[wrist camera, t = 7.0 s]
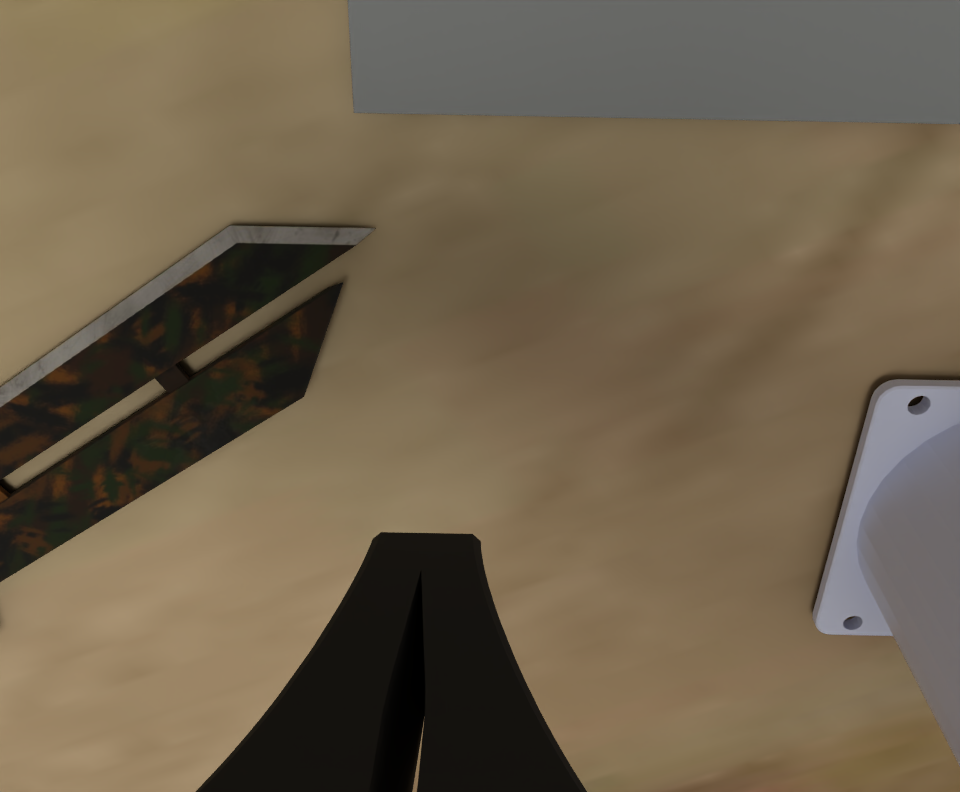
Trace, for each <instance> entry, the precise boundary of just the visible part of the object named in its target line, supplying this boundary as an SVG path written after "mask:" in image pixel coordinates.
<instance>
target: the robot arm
mask: <svg viewBox="0 0 960 792" xmlns="http://www.w3.org/2000/svg"><path fill="white" fill-rule="evenodd" d="M918 396H924V397H923V399H922V401H921V402H920V403H918V404H917V405H914V406H908V404H909V402H910V401H911V400H912V399H914V398H915V397H918ZM851 616H855V617H853V618H852V619H848V620H845V619H847V618H848V617H851ZM813 620H814V623H815V625H816V627H817V629H818V630H819V631H820V632H822V633H824V634H830V635H878V636H894V638H895V640H896V642H897V644H898V646H899V648H900V650H901V652H902V654H903V656H904V658H905V660H906V662H907V664H908V666H909V668H910V670H911V672H912V674H913V676H914V678H915V679H916V681H917V683H918V685H919V687H920V689H921V691H922V693H923V695H924V697H925V699H926V701H927V703H928V705H929V707H930V709H931V711H932V713H933V715H934V717H935V719H936V721H937V723H938V725H939V727H940V728H941V730H942V732H943V734H944V736H945V738H946V740H947V742H948V744H949V746H950V748H951V750H952V752H953V754H954V756H955V758H956V760H957V762H958V764H959V766H960V380H908V379H896V380H889V381H887V382H885V383H883V384H881V385H880V386H879V387H878V388H877V389H876V390H875V391H874V393H873V395H872V397H871V401H870V404H869V408H868V412H867V415H866V419H865V423H864V426H863V430H862V434H861V437H860V441H859V445H858V448H857V452H856V456H855V459H854V463H853V467H852V470H851V474H850V478H849V481H848V485H847V489H846V492H845V496H844V500H843V504H842V507H841V511H840V515H839V518H838V522H837V526H836V529H835V533H834V537H833V540H832V544H831V548H830V551H829V555H828V559H827V562H826V566H825V570H824V573H823V577H822V581H821V584H820V588H819V592H818V595H817V599H816V603H815V606H814V610H813ZM424 716H425V718H424ZM423 722H424V728H423ZM422 728H423V738H422V748H421V759H420V769H419V778H418V788H417V792H587V791H586V790H585V788H584V786H583V785H582V783H581V782H580V780H579V778H578V777H577V775H576V774H575V772H574V771H573V769H572V767H571V766H570V764H569V762H568V761H567V759H566V757H565V755H564V754H563V752H562V750H561V749H560V747H559V745H558V743H557V742H556V740H555V738H554V736H553V735H552V733H551V731H550V729H549V727H548V725H547V724H546V722H545V720H544V718H543V716H542V714H541V712H540V710H539V708H538V706H537V704H536V702H535V700H534V698H533V696H532V694H531V692H530V690H529V688H528V686H527V684H526V682H525V680H524V678H523V675H522V673H521V671H520V669H519V666H518V664H517V662H516V660H515V657H514V655H513V652H512V650H511V647H510V645H509V642H508V640H507V637H506V635H505V632H504V630H503V627H502V625H501V622H500V619H499V617H498V614H497V611H496V608H495V605H494V602H493V599H492V595H491V592H490V589H489V586H488V582H487V578H486V574H485V570H484V565H483V559H482V553H481V541H480V540H479V539H477V538H476V537H475V536H474V535H473V534H441V533H388V532H381V533H380V534H379V535H377V536H376V537H375V538H374V539H373V540H372V543H371V545H370V547H369V550H368V552H367V554H366V556H365V559H364V561H363V563H362V565H361V567H360V569H359V571H358V573H357V575H356V577H355V578H354V580H353V582H352V584H351V586H350V588H349V589H348V591H347V593H346V595H345V596H344V598H343V600H342V602H341V603H340V605H339V607H338V608H337V610H336V612H335V613H334V615H333V616H332V618H331V620H330V621H329V623H328V624H327V626H326V628H325V629H324V631H323V632H322V634H321V636H320V637H319V639H318V640H317V642H316V643H315V645H314V646H313V648H312V649H311V651H310V652H309V654H308V655H307V657H306V658H305V659H304V661H303V662H302V664H301V665H300V666H299V668H298V669H297V671H296V672H295V673H294V675H293V676H292V678H291V679H290V680H289V682H288V683H287V684H286V686H285V687H284V689H283V690H282V691H281V693H280V694H279V696H278V697H277V698H276V700H275V701H274V702H273V703H272V705H271V706H270V707H269V709H268V710H267V711H266V712H265V714H264V715H263V716H262V717H261V719H260V720H259V721H258V722H257V724H256V725H255V726H254V727H253V728H252V730H251V731H250V732H249V733H248V734H247V736H246V737H245V738H244V739H243V740H242V741H241V743H240V744H239V745H238V746H237V747H236V748H235V750H234V751H233V752H232V753H231V754H230V755H229V756H228V758H227V759H226V760H225V761H224V762H223V763H222V764H221V765H220V766H219V767H218V768H217V770H216V771H215V772H214V773H213V774H212V775H211V776H210V777H209V778H208V779H207V780H206V781H205V782H204V783H203V784H202V786H201V787H200V788H199V789H198V790H197V791H196V792H412V790H413V784H414V778H415V772H416V766H417V759H418V753H419V747H420V741H421V735H422Z"/></svg>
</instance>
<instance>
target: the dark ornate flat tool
mask: <svg viewBox="0 0 960 792" xmlns="http://www.w3.org/2000/svg"><path fill="white" fill-rule="evenodd" d="M375 229H376V228H340V227H284V226H228V227H227V228H226V229H224V230H223V231H221V232H220V233H219V234H217V235H216V236H214V237H213V238H211V239H210V240H209V241H207V242H206V243H204V244H203V245H201V246H200V247H199V248H197V249H196V250H194V251H193V252H192V253H190V254H189V255H187V256H186V257H184V258H183V259H182V260H180V261H179V262H177V263H176V264H174V265H173V266H172V267H170V268H169V269H167V270H166V271H165V272H163V273H162V274H160V275H159V276H157V277H156V278H155V279H153V280H152V281H150V282H149V283H147V284H146V285H145V286H143V287H142V288H140V289H139V290H138V291H136V292H135V293H133V294H132V295H130V296H129V297H128V298H126V299H125V300H123V301H122V302H120V303H119V304H118V305H116V306H115V307H113V308H112V309H111V310H109V311H108V312H106V313H105V314H103V315H102V316H101V317H99V318H98V319H96V320H95V321H94V322H92V323H91V324H89V325H88V326H86V327H85V328H84V329H82V330H81V331H79V332H78V333H76V334H75V335H74V336H72V337H71V338H69V339H68V340H67V341H65V342H64V343H62V344H61V345H59V346H58V347H57V348H55V349H54V350H52V351H51V352H49V353H48V354H47V355H45V356H44V357H42V358H41V359H40V360H38V361H37V362H35V363H34V364H32V365H31V366H30V367H28V368H27V369H25V370H24V371H22V372H21V373H20V374H18V375H17V376H15V377H14V378H13V379H11V380H10V381H8V382H7V383H5V384H4V385H3V386H1V387H0V480H1V479H2V478H4V477H5V476H7V475H8V474H10V473H11V472H13V471H14V470H16V469H17V468H19V467H21V466H22V465H24V464H25V463H27V462H28V461H30V460H31V459H33V458H34V457H36V456H37V455H39V454H40V453H42V452H43V451H45V450H46V449H48V448H49V447H51V446H52V445H54V444H55V443H57V442H58V441H60V440H61V439H63V438H64V437H66V436H68V435H69V434H71V433H72V432H74V431H75V430H77V429H78V428H80V427H81V426H83V425H84V424H86V423H87V422H89V421H90V420H92V419H93V418H95V417H96V416H98V415H99V414H101V413H102V412H104V411H105V410H107V409H108V408H110V407H112V406H113V405H115V404H116V403H118V402H119V401H121V400H122V399H124V398H125V397H127V396H128V395H130V394H131V393H133V392H134V391H136V390H137V389H139V388H140V387H142V386H143V385H145V384H146V383H148V382H149V381H151V380H152V379H154V378H155V379H156V380H157V381H158V382H159V383H160V384H161V385H162V386H163V388H164V389H165V390H166V391H167V393H165V394H164V395H162V396H161V397H159V398H158V399H156V400H154V401H153V402H151V403H150V404H148V405H147V406H145V407H144V408H142V409H141V410H139V411H138V412H136V413H134V414H133V415H131V416H130V417H128V418H127V419H125V420H124V421H122V422H121V423H119V424H118V425H116V426H114V427H113V428H111V429H110V430H108V431H107V432H105V433H104V434H102V435H101V436H99V437H97V438H96V439H94V440H93V441H91V442H90V443H88V444H87V445H85V446H84V447H82V448H81V449H79V450H77V451H76V452H74V453H73V454H71V455H70V456H68V457H67V458H65V459H64V460H62V461H61V462H59V463H57V464H56V465H54V466H53V467H51V468H50V469H48V470H47V471H45V472H44V473H42V474H41V475H39V476H37V477H36V478H34V479H33V480H31V481H30V482H28V483H27V484H25V485H24V486H22V487H20V488H19V489H17V490H16V491H14V492H13V493H11V494H10V493H8V492H7V491H6V490H5V489H4V488H3V487H2V486H0V582H1V581H3V580H4V579H6V578H8V577H9V576H11V575H13V574H14V573H16V572H17V571H19V570H21V569H22V568H24V567H26V566H27V565H29V564H31V563H32V562H34V561H35V560H37V559H39V558H40V557H42V556H44V555H45V554H47V553H49V552H50V551H52V550H53V549H55V548H57V547H58V546H60V545H62V544H63V543H65V542H67V541H68V540H70V539H72V538H73V537H75V536H76V535H78V534H80V533H81V532H83V531H85V530H86V529H88V528H90V527H91V526H93V525H94V524H96V523H98V522H99V521H101V520H103V519H104V518H106V517H108V516H109V515H111V514H112V513H114V512H116V511H117V510H119V509H121V508H122V507H124V506H126V505H127V504H129V503H131V502H132V501H134V500H135V499H137V498H139V497H140V496H142V495H144V494H145V493H147V492H149V491H150V490H152V489H153V488H155V487H157V486H158V485H160V484H162V483H163V482H165V481H167V480H168V479H170V478H171V477H173V476H175V475H176V474H178V473H180V472H181V471H183V470H185V469H186V468H188V467H190V466H191V465H193V464H194V463H196V462H198V461H199V460H201V459H203V458H204V457H206V456H208V455H209V454H211V453H212V452H214V451H216V450H217V449H219V448H221V447H222V446H224V445H226V444H227V443H229V442H230V441H232V440H234V439H235V438H237V437H239V436H240V435H242V434H244V433H245V432H247V431H248V430H250V429H252V428H253V427H255V426H257V425H258V424H260V423H262V422H263V421H265V420H267V419H268V418H270V417H271V416H273V415H275V414H276V413H278V412H280V411H281V410H283V409H285V408H286V407H288V406H289V405H291V404H293V403H294V402H296V401H298V400H299V399H301V398H303V397H304V395H305V392H306V389H307V386H308V384H309V381H310V378H311V375H312V372H313V369H314V366H315V363H316V360H317V357H318V354H319V352H320V349H321V346H322V343H323V340H324V337H325V334H326V331H327V328H328V325H329V322H330V320H331V317H332V314H333V311H334V308H335V305H336V302H337V299H338V296H339V293H340V290H341V288H342V285H343V282H342V283H339V284H337V285H334V286H331V287H329V288H327V289H325V290H324V291H322V292H321V293H319V294H318V295H316V296H315V297H313V298H312V299H310V300H308V301H307V302H305V303H304V304H302V305H301V306H299V307H298V308H296V309H295V310H293V311H292V312H290V313H288V314H287V315H285V316H284V317H282V318H281V319H279V320H278V321H276V322H275V323H273V324H272V325H270V326H268V327H267V328H265V329H264V330H262V331H261V332H259V333H258V334H256V335H255V336H253V337H251V338H250V339H248V340H247V341H245V342H244V343H242V344H241V345H239V346H238V347H236V348H235V349H233V350H231V351H230V352H228V353H227V354H225V355H224V356H222V357H221V358H219V359H218V360H216V361H215V362H213V363H211V364H210V365H208V366H207V367H205V368H204V369H202V370H201V371H199V372H198V373H196V374H195V375H193V376H191V377H189V376H188V375H187V373H186V372H185V371H184V370H183V369H182V368H181V367H180V365H179V364H178V362H180V361H181V360H183V359H184V358H186V357H187V356H189V355H190V354H192V353H193V352H195V351H196V350H198V349H199V348H201V347H202V346H204V345H206V344H207V343H209V342H210V341H212V340H213V339H215V338H216V337H218V336H219V335H221V334H222V333H224V332H225V331H227V330H228V329H230V328H231V327H233V326H234V325H236V324H237V323H239V322H240V321H242V320H243V319H245V318H246V317H248V316H250V315H251V314H253V313H254V312H256V311H257V310H259V309H260V308H262V307H263V306H265V305H266V304H268V303H269V302H271V301H272V300H274V299H275V298H277V297H278V296H280V295H281V294H283V293H284V292H286V291H287V290H289V289H290V288H292V287H293V286H295V285H297V284H298V283H300V282H301V281H303V280H304V279H306V278H307V277H309V276H310V275H312V274H313V273H315V272H316V271H318V270H319V269H321V268H322V267H324V266H325V265H327V264H328V263H330V262H331V261H333V260H334V259H336V258H337V257H339V256H341V255H342V254H344V253H345V252H347V251H348V250H350V249H351V248H353V247H354V246H356V245H357V244H358V243H359V242H361V241H362V240H363V239H364V238H365V237H366V236H368V235H369V234H370V233H371V232H372V231H373V230H375Z"/></svg>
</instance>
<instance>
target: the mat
mask: <svg viewBox="0 0 960 792" xmlns="http://www.w3.org/2000/svg"><path fill="white" fill-rule="evenodd" d="M348 13H349V32H350V51H351V69H352V88H353V107H354V113H389V114H443V115H497V116H551V117H605V118H659V119H713V120H767V121H821V122H875V123H929V124H960V0H348Z"/></svg>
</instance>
